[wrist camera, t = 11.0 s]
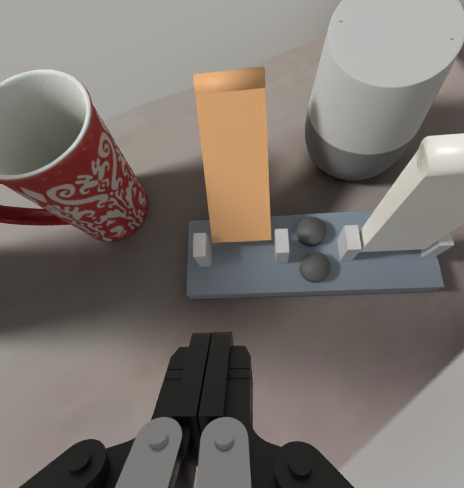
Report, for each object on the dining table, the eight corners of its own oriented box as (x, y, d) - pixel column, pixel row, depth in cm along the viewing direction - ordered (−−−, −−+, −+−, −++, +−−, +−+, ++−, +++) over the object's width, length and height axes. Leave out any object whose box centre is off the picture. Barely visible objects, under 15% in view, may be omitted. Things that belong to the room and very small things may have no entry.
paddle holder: (191, 299, 30) (176, 288, 25) (193, 228, 32) (180, 206, 27) (432, 291, 27) (465, 278, 23) (415, 216, 30) (443, 190, 25)
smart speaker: (290, 175, 33) (303, 54, 20) (316, 105, 35) (344, -45, 22) (385, 201, 31) (472, 85, 18) (406, 125, 33) (496, -27, 20)
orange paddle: (212, 243, 27) (192, 72, 22) (214, 235, 29) (197, 75, 24) (271, 240, 27) (264, 65, 22) (270, 233, 28) (264, 68, 24)
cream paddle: (360, 253, 26) (440, 162, 14) (357, 232, 26) (431, 127, 14) (426, 250, 25) (570, 153, 13) (421, 229, 26) (555, 117, 14)
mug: (141, 158, 35) (69, 48, 23) (170, 225, 32) (107, 140, 20) (35, 207, 35) (-99, 123, 22) (54, 280, 32) (-88, 230, 19)
